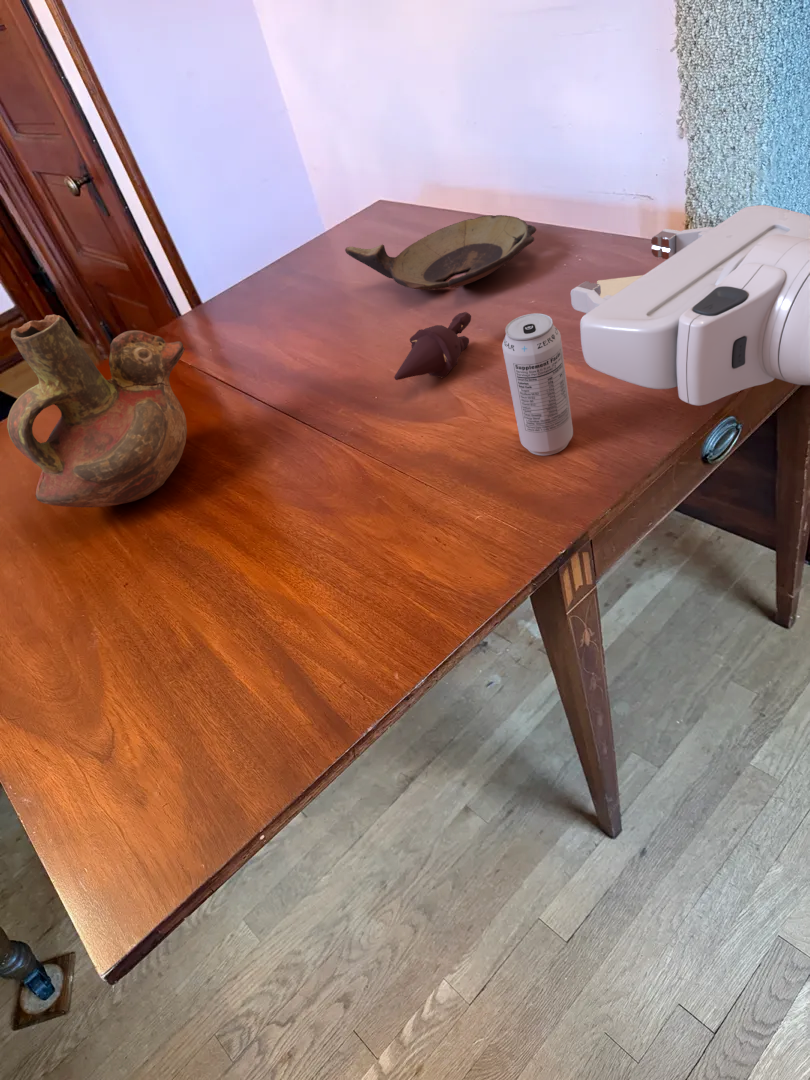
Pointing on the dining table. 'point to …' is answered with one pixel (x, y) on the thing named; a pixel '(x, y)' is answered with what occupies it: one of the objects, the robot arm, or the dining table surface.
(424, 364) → the maroon pointed figurine
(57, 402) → the ceramic vessel
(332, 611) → the dining table surface
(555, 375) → the energy drink can
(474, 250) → the olive ceramic shallow bowl
